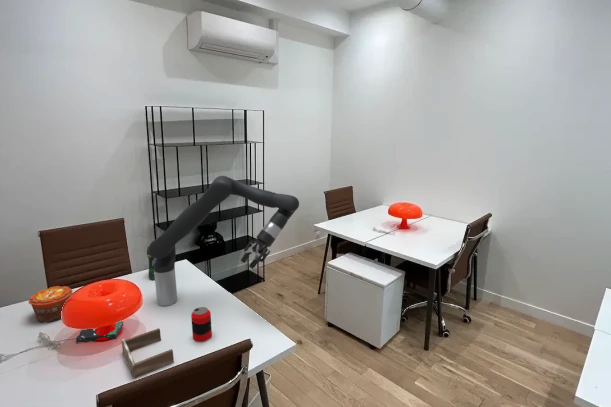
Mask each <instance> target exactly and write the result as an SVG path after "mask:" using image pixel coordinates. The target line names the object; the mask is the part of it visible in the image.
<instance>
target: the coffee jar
mask: <svg viewBox="0 0 611 407" xmlns="http://www.w3.org/2000/svg"><path fill="white" fill-rule="evenodd" d="M148 249H149V246H147V248H146V257H147V258H148V280H150V281H151V280H152V281H155V275H154V264H155V262H156V259H155V258H152V257H151V256H150V254H149V250H148Z"/></svg>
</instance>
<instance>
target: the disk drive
mask: <svg viewBox="0 0 611 407" xmlns="http://www.w3.org/2000/svg"><path fill="white" fill-rule="evenodd" d="M120 321H121V322H118V323H116V324H115V325H116V327H115V329H114V330H113V331H112V332H110V333H108V334H105V335H97V334H95V329H87V330H82V329H81V330H80V332H79V335H77V336H76V338H75V342H76V344H79V343H78V342H84V343H90V342H89V341H93V342H96V341H95V340H96V339H98V338H102V337H106V338H108V339H111V340H117V338H118V336H119V335H120V333H119V331H120V329H121V327H122V326H124V322H123V320H120ZM122 328H123V327H122ZM121 330H122V329H121ZM120 332H121V331H120ZM118 334H119V335H118Z"/></svg>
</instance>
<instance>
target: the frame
mask: <svg viewBox="0 0 611 407" xmlns="http://www.w3.org/2000/svg"><path fill="white" fill-rule="evenodd" d="M160 341H162V336H161V328H159V327H158V328H156V329H153V330H149V331H147V332H144V333H141V334H138V335H134V336H132V337H129V338H126V339H125V338H122V339H121V348H122V353H123V356H124V358H125V361H126V363H127V366H128V368H129V369H128V370H129V371H130V373H131V376H132V379H136V378H139V377H142V376H144V375H146V374H149V373H150V372H154V371H156V370H159V369H161V368H164V367H167V366H168V365H171V364H173V363H175V361H174V350H173V349H168V350H165V351H163V352H161V353H158V354H155V355H152V356H151V357H148V358H145V359H142V360H139V361H137V362H135V360H134V358H133V355H132V353H131V352H133V351H136V350H138V349H141V348H144V347H147V346H150V345H153V344H154V343H158V342H160Z"/></svg>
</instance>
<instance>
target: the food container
mask: <svg viewBox="0 0 611 407" xmlns="http://www.w3.org/2000/svg"><path fill="white" fill-rule="evenodd" d="M71 295H72V296H73V289H72V288H70V287H69V286H65V285H63V286H60V285H57V286H51V287H49V288H44V289H41V290H38V291H37V292H36V293H35V294H32V295H31V296H30V298H29V299H28V304H29V305H31V307H32V310H33V312H34V313H33V314H35V315H34V316H35V318H36V321H37V322H39V323H43V322H47V323H52V321H53V322H56V321H60V320H62V319H61V311H62V307H63V305H64V303H65V302H66V300H67V299H68V298H69V297H70V296H71ZM72 296H71V297H72ZM59 319H60V320H59Z"/></svg>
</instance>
